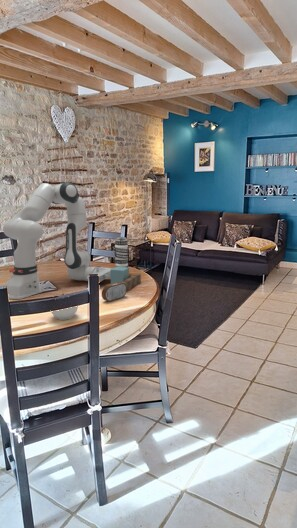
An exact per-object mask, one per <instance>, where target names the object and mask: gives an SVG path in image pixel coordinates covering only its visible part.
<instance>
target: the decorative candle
mask: <svg viewBox="0 0 297 528" xmlns="http://www.w3.org/2000/svg"><path fill="white" fill-rule="evenodd" d="M128 240H129V239H128V238H127V237H125V236H117V237H116V239H115V240H114V241H115V245H114V246H113V248H114V249H113V250H114V259H115V266H114V268H115V267H127V268H130V267H129V262H128V261H129V260H128V259H129V256H130V255H129V253H130V251H129V250H130V249H129V245H128V244H129V243H128Z"/></svg>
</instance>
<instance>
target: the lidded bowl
mask: <svg viewBox="0 0 297 528" xmlns="http://www.w3.org/2000/svg"><path fill="white" fill-rule="evenodd" d="M70 293H71V292H61V293H58V294H53V295H50V297H54V296H59V295H64V294H70ZM78 308H79V305H78V306H77V307H72V308H68V309H63V310H59V311H53V312H51V311H50V313H51V314H52V315H53V317H55V318H56V320H60V321H68V320H70V319H73V317H74V315H75V314H76V313H77V311H78Z"/></svg>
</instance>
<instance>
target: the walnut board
mask: <svg viewBox="0 0 297 528" xmlns="http://www.w3.org/2000/svg"><path fill="white" fill-rule="evenodd" d="M141 275H142V273H134V274H133V275H131V276H129V278H127V279H126V280H124V281H122V283H124V284H125V285H126V286H127V291H126V293H127V292H128V291H129V290H131V289H132V288H133V287H135V286H136V285H138V284H140V283H141V282H142V277H141Z"/></svg>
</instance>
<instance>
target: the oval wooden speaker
mask: <svg viewBox="0 0 297 528" xmlns="http://www.w3.org/2000/svg"><path fill="white" fill-rule="evenodd" d="M126 291H127V286H126V285H125V284H124V283H122V282H117V283H113V284H111V283H109V284H106V285H104V287H103V289H102V291H101V297H102V299H103V300H104V301H106V302H112V301H117V300H119V299H122V298H124V297H125V295H126V294H127V292H128V291H127V292H126Z"/></svg>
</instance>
